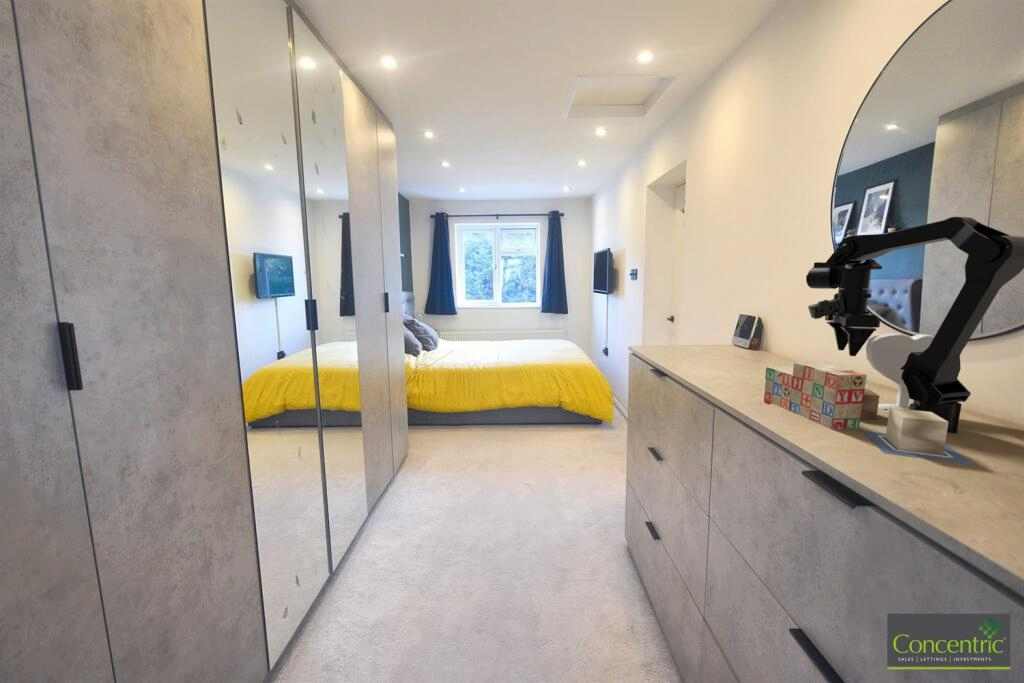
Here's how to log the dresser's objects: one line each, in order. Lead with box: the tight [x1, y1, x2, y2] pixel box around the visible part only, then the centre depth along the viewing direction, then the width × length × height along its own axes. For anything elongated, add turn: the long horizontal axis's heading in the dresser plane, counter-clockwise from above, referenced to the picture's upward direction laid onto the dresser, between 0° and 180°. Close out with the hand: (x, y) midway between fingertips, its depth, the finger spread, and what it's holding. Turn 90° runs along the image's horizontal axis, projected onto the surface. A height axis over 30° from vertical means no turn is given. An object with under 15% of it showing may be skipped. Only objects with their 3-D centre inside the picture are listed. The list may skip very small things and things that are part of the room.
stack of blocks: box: [763, 361, 867, 430], centre depth 95 cm, size 21×6×12 cm, turn 4°
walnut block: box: [860, 388, 880, 420], centre depth 95 cm, size 6×6×6 cm
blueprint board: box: [860, 430, 977, 466], centre depth 77 cm, size 12×12×1 cm
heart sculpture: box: [865, 332, 935, 410], centre depth 99 cm, size 16×5×18 cm, turn 67°
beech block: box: [885, 408, 948, 455], centre depth 76 cm, size 6×6×6 cm
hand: (846, 353), depth 103 cm, fingers open, 9 cm apart
